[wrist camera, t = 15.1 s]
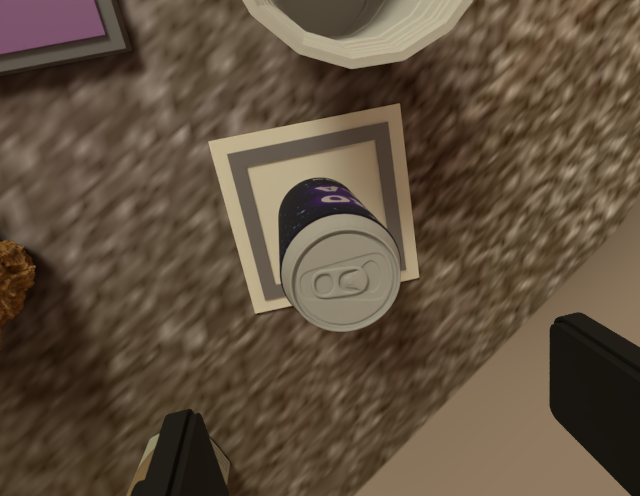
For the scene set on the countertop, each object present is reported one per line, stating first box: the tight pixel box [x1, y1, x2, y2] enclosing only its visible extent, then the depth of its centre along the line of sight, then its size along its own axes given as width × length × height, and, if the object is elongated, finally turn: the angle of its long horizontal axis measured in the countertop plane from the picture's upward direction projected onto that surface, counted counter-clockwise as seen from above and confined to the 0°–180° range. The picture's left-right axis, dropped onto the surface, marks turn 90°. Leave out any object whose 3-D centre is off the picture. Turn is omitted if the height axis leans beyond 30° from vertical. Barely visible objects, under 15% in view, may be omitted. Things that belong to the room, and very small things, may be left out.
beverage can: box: [278, 177, 401, 332], centre depth 23 cm, size 6×6×12 cm
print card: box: [208, 103, 419, 314], centre depth 28 cm, size 13×13×1 cm
